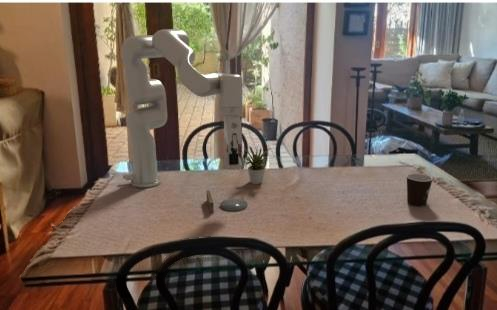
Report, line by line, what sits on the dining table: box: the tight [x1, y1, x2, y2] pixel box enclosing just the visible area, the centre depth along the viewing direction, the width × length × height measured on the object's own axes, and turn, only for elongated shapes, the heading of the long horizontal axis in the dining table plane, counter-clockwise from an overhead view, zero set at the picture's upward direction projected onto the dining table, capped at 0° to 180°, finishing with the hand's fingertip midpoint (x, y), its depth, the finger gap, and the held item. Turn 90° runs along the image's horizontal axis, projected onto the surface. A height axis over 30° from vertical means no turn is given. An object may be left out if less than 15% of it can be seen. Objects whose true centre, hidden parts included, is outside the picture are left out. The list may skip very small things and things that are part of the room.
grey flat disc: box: [219, 198, 248, 212], centre depth 154 cm, size 10×10×1 cm
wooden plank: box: [206, 189, 215, 214], centre depth 153 cm, size 1×12×4 cm, turn 11°
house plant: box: [240, 144, 272, 185], centre depth 176 cm, size 14×14×16 cm
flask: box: [222, 143, 244, 170], centre depth 149 cm, size 7×7×10 cm
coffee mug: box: [406, 172, 433, 208], centre depth 154 cm, size 12×9×10 cm
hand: (232, 161), depth 150 cm, fingers closed on flask, 4 cm apart
